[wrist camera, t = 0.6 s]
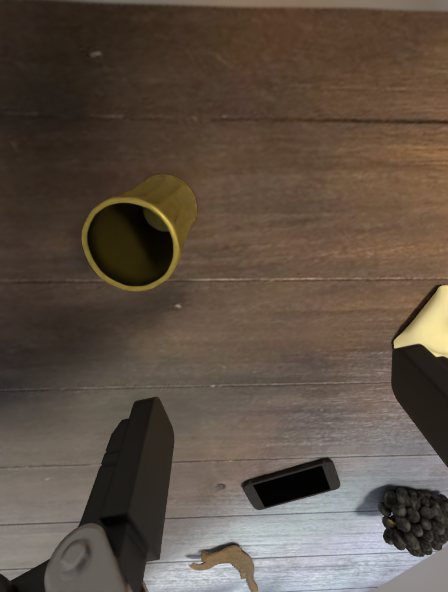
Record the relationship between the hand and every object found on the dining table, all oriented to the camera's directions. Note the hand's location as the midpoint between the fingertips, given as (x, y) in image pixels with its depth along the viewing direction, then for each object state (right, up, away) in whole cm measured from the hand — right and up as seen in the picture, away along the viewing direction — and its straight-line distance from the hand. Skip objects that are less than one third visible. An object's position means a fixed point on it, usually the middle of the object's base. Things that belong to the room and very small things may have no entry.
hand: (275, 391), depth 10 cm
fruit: (+31, -32, +41) cm, 61 cm away
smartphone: (+9, -27, +38) cm, 48 cm away
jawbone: (-1, -52, +49) cm, 71 cm away
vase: (-7, +12, +19) cm, 23 cm away
